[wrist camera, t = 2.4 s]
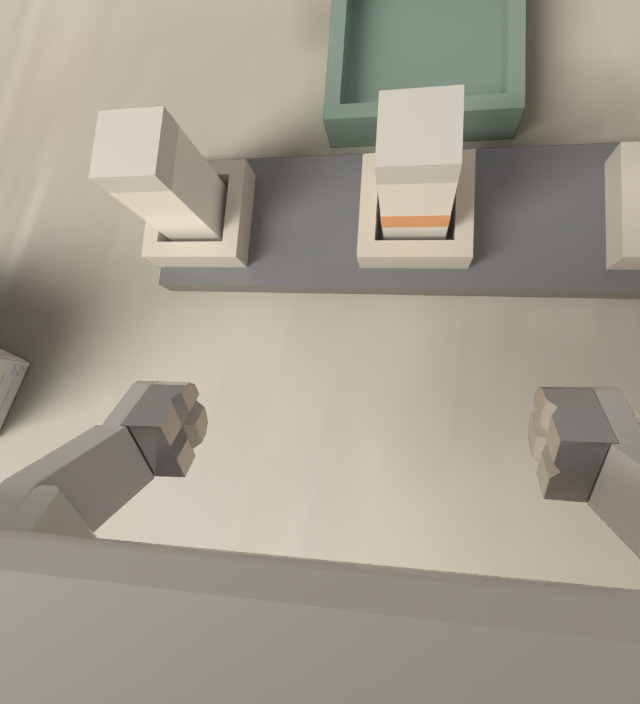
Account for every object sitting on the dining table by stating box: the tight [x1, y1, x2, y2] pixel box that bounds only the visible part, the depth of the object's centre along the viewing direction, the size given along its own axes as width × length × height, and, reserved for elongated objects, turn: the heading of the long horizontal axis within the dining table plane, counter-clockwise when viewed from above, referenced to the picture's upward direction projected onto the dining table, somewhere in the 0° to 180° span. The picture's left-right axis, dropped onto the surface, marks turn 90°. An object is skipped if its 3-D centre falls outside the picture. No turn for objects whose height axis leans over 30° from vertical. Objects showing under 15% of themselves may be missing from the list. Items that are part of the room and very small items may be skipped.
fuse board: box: [141, 141, 640, 299], centre depth 27 cm, size 9×34×4 cm, turn 86°
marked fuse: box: [375, 85, 464, 240], centre depth 23 cm, size 4×4×9 cm
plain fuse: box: [89, 106, 228, 242], centre depth 26 cm, size 4×4×9 cm
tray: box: [323, 0, 526, 148], centre depth 29 cm, size 12×12×3 cm
